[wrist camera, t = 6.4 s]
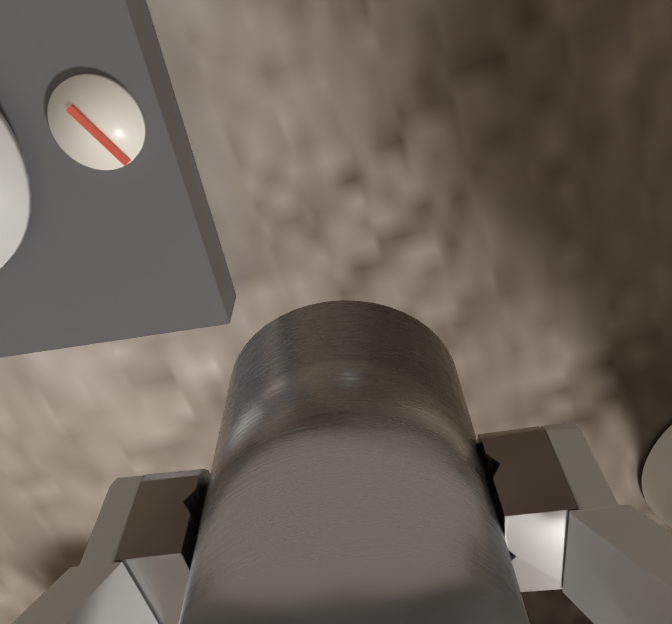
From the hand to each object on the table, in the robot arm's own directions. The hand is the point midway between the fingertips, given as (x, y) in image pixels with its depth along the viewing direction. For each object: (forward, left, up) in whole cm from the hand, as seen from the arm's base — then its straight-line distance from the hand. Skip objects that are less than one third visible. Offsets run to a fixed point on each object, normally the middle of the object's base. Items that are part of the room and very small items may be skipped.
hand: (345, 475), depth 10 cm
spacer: (0, 0, -2) cm, 2 cm away
